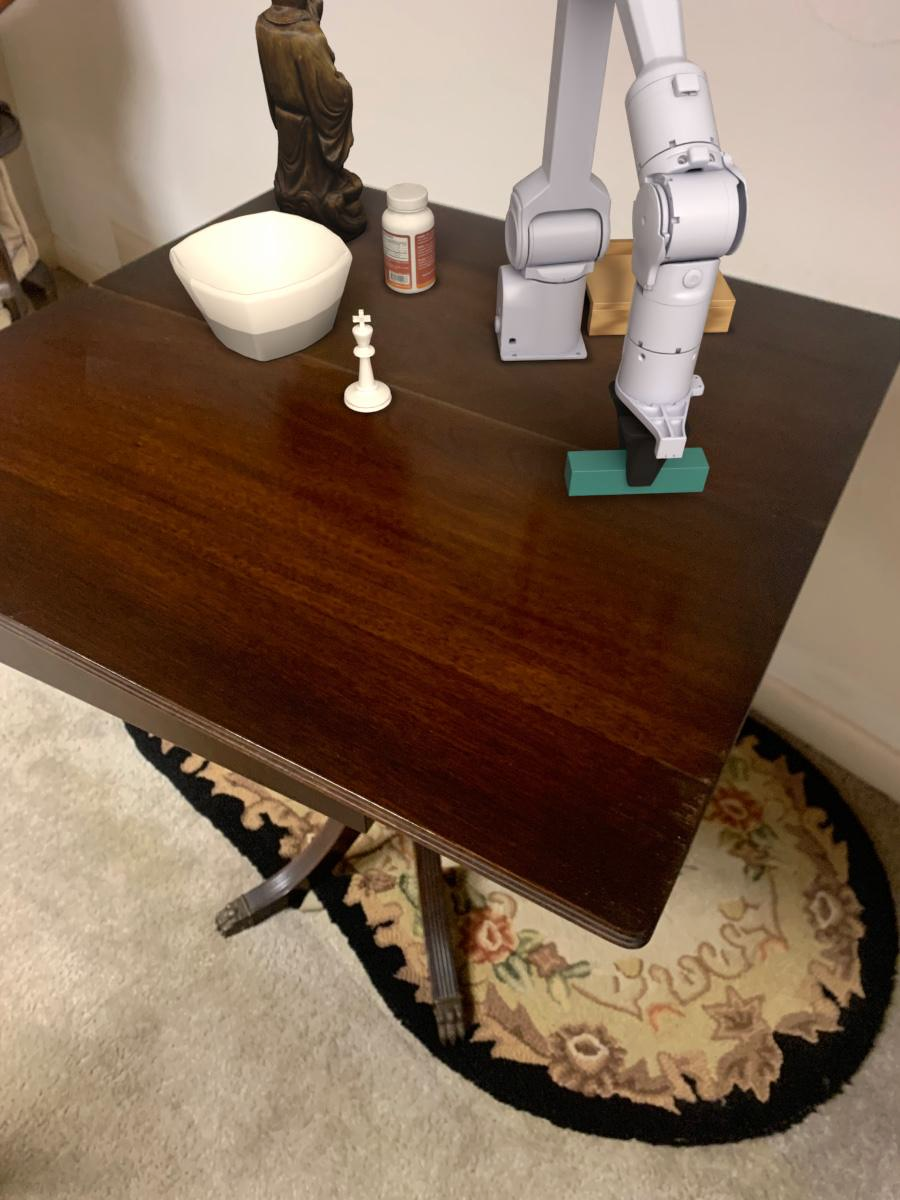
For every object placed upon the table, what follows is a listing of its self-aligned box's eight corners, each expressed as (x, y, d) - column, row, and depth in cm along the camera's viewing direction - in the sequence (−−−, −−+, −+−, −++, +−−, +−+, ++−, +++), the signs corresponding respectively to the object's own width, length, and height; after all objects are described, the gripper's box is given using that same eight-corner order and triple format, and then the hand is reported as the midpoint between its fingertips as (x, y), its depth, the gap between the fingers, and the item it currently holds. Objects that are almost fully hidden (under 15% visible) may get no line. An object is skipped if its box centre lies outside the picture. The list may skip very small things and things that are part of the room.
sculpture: (387, 233, 119) (391, -38, 98) (321, 260, 112) (310, -26, 91) (319, 207, 124) (310, -56, 103) (252, 231, 117) (227, -47, 96)
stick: (568, 496, 78) (572, 471, 76) (564, 475, 80) (567, 451, 78) (702, 492, 78) (709, 467, 76) (695, 471, 80) (702, 447, 78)
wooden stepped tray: (588, 335, 101) (595, 290, 96) (573, 283, 109) (578, 239, 104) (727, 332, 101) (739, 287, 97) (701, 280, 109) (711, 236, 105)
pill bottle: (430, 268, 111) (428, 177, 103) (440, 292, 107) (439, 200, 99) (381, 273, 110) (375, 182, 102) (389, 298, 106) (385, 205, 98)
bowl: (382, 330, 101) (377, 251, 94) (255, 393, 93) (240, 311, 86) (286, 275, 110) (276, 199, 103) (162, 328, 101) (141, 249, 94)
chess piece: (344, 386, 94) (335, 298, 86) (390, 383, 94) (385, 296, 87) (344, 413, 90) (335, 325, 83) (392, 411, 91) (387, 323, 83)
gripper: (741, 387, 63) (700, 526, 73) (692, 285, 73) (662, 420, 83) (643, 390, 63) (616, 529, 73) (608, 287, 73) (588, 422, 83)
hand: (635, 471), depth 78 cm, fingers closed on stick, 3 cm apart
